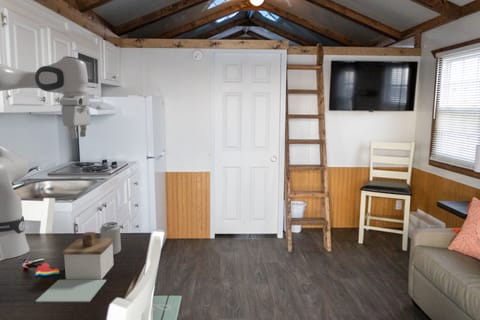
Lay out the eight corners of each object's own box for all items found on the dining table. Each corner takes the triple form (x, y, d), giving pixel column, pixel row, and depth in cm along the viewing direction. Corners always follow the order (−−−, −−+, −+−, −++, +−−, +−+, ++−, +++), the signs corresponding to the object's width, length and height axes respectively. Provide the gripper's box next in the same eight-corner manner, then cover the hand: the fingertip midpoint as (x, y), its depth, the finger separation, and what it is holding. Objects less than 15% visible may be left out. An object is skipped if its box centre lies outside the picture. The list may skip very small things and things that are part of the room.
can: (124, 249, 151) (122, 221, 150) (116, 256, 144) (114, 227, 142) (106, 249, 152) (105, 220, 150) (97, 256, 144) (96, 226, 143)
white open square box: (65, 279, 124) (64, 254, 123) (81, 264, 136) (79, 241, 135) (101, 279, 124) (100, 253, 123) (113, 264, 136) (112, 241, 135)
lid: (61, 254, 122) (60, 240, 122) (78, 241, 135) (78, 227, 135) (100, 254, 122) (100, 240, 122) (114, 240, 135) (113, 227, 135)
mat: (35, 302, 109) (35, 301, 109) (58, 280, 123) (58, 279, 123) (89, 302, 109) (89, 300, 109) (106, 280, 123) (106, 279, 123)
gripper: (77, 101, 149) (79, 136, 150) (57, 100, 128) (60, 139, 130) (93, 101, 149) (95, 135, 151) (76, 100, 129) (78, 139, 131)
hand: (79, 137), depth 140 cm, fingers open, 8 cm apart
